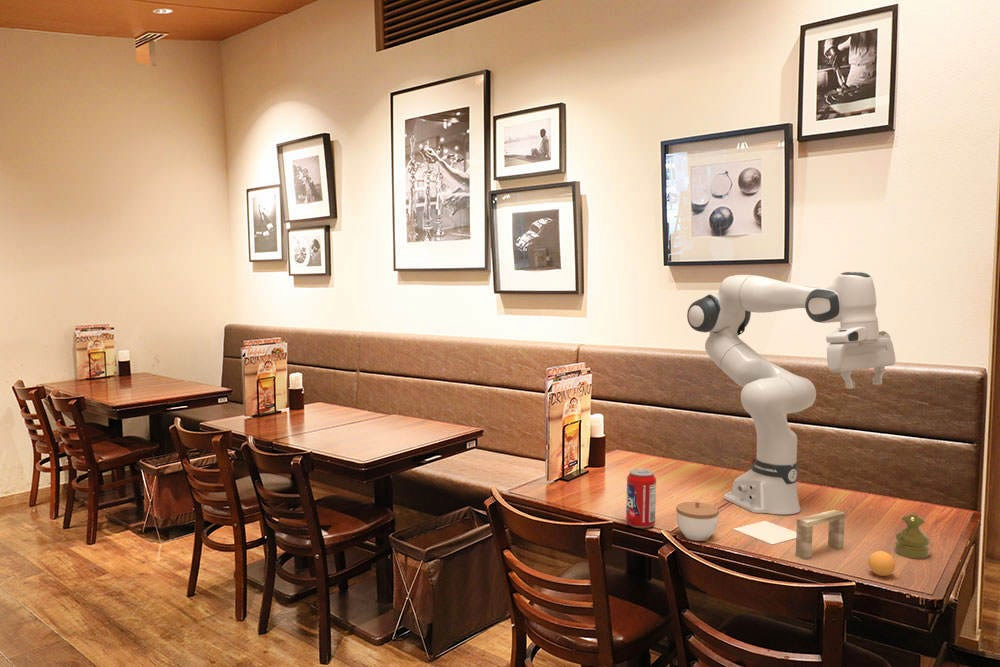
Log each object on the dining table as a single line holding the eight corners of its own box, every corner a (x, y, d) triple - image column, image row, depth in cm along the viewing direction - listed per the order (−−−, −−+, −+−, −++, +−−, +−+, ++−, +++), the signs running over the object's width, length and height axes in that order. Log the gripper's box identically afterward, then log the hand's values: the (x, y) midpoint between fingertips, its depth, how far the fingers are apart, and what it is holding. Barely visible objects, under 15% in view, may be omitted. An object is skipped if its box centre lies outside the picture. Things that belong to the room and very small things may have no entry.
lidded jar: (726, 538, 190) (727, 503, 190) (699, 547, 184) (700, 511, 183) (693, 526, 199) (694, 493, 198) (667, 534, 193) (667, 500, 192)
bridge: (795, 555, 179) (797, 519, 178) (832, 544, 186) (834, 509, 186) (806, 559, 177) (807, 522, 176) (843, 548, 184) (845, 512, 183)
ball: (862, 573, 169) (863, 550, 168) (877, 568, 171) (878, 545, 171) (885, 581, 164) (886, 558, 164) (899, 576, 167) (901, 553, 166)
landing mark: (732, 529, 197) (732, 528, 197) (765, 521, 204) (765, 520, 204) (772, 545, 186) (772, 544, 186) (805, 536, 192) (805, 535, 192)
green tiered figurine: (917, 548, 185) (919, 509, 184) (935, 559, 177) (937, 519, 176) (888, 548, 184) (890, 509, 184) (905, 559, 177) (907, 519, 176)
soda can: (655, 530, 196) (657, 476, 194) (626, 529, 197) (627, 474, 196) (654, 521, 203) (655, 468, 202) (625, 519, 205) (626, 467, 203)
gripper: (878, 330, 196) (883, 381, 196) (820, 336, 189) (825, 389, 189) (899, 330, 190) (903, 382, 190) (840, 336, 183) (844, 391, 183)
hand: (864, 386), depth 190 cm, fingers open, 8 cm apart
